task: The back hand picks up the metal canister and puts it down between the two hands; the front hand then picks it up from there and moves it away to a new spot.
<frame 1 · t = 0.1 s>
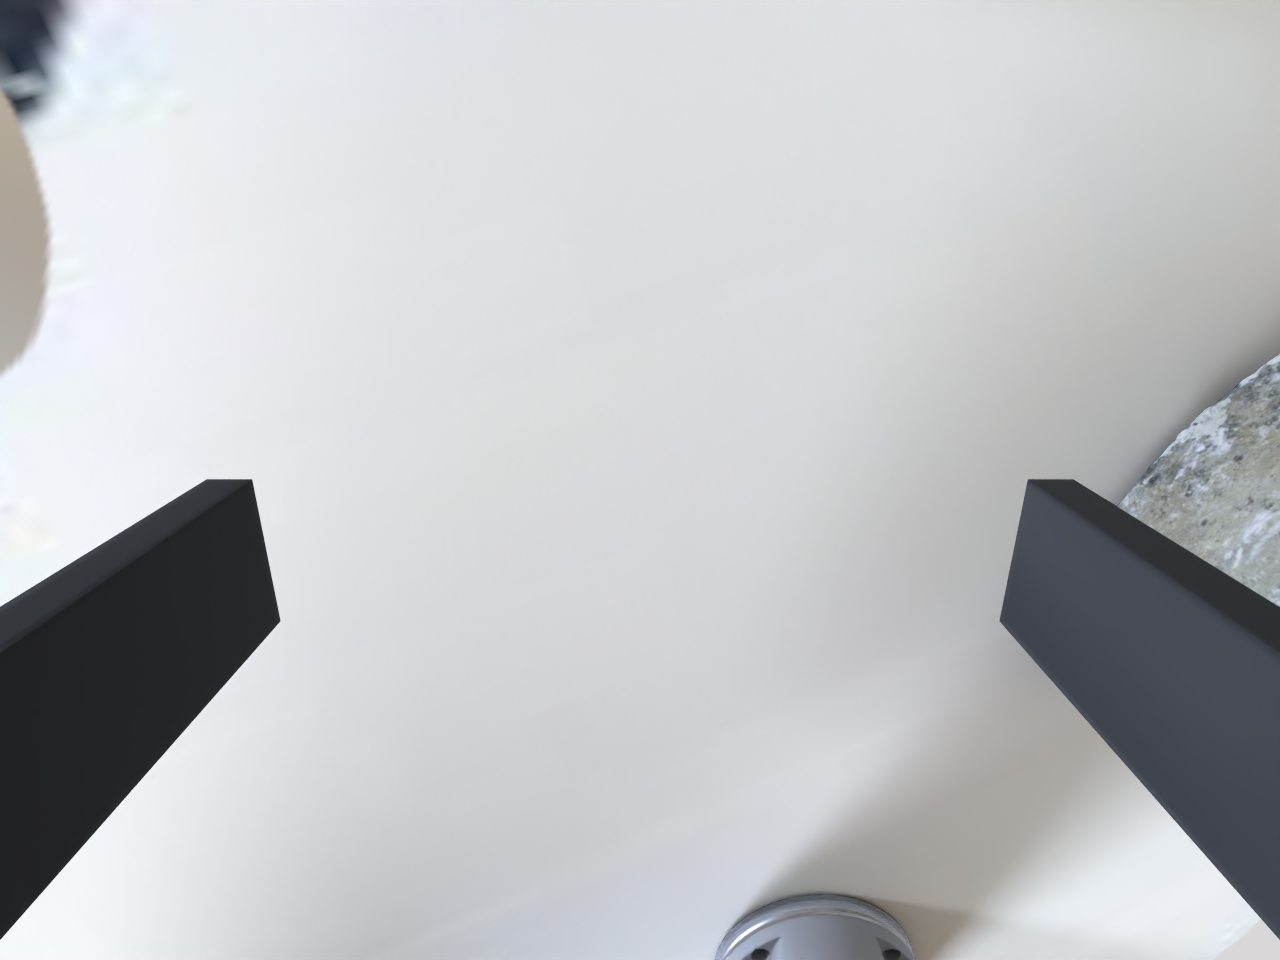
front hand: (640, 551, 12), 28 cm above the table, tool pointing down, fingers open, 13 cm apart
concrete block: (1191, 496, 42), on the table
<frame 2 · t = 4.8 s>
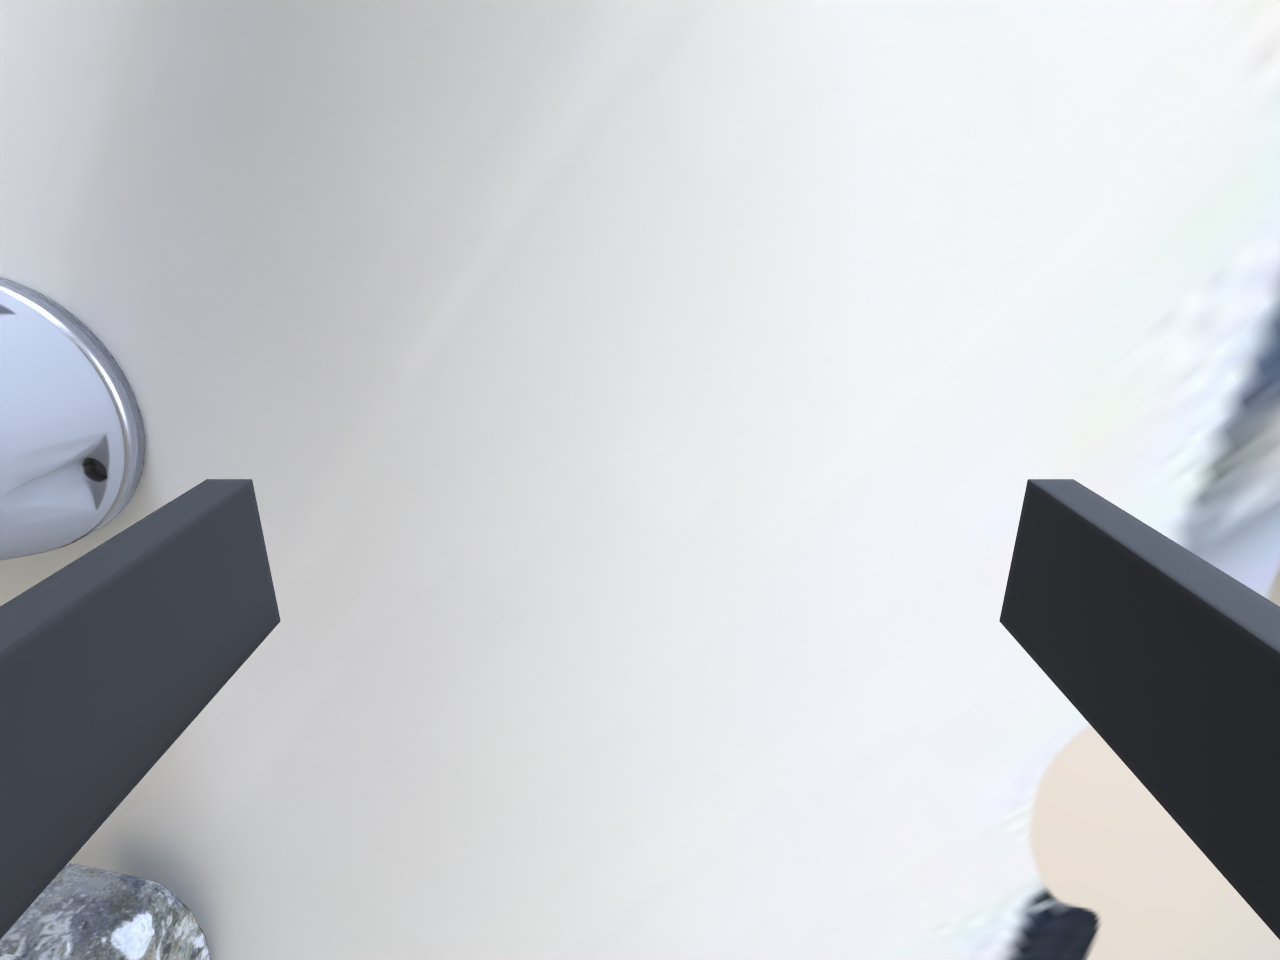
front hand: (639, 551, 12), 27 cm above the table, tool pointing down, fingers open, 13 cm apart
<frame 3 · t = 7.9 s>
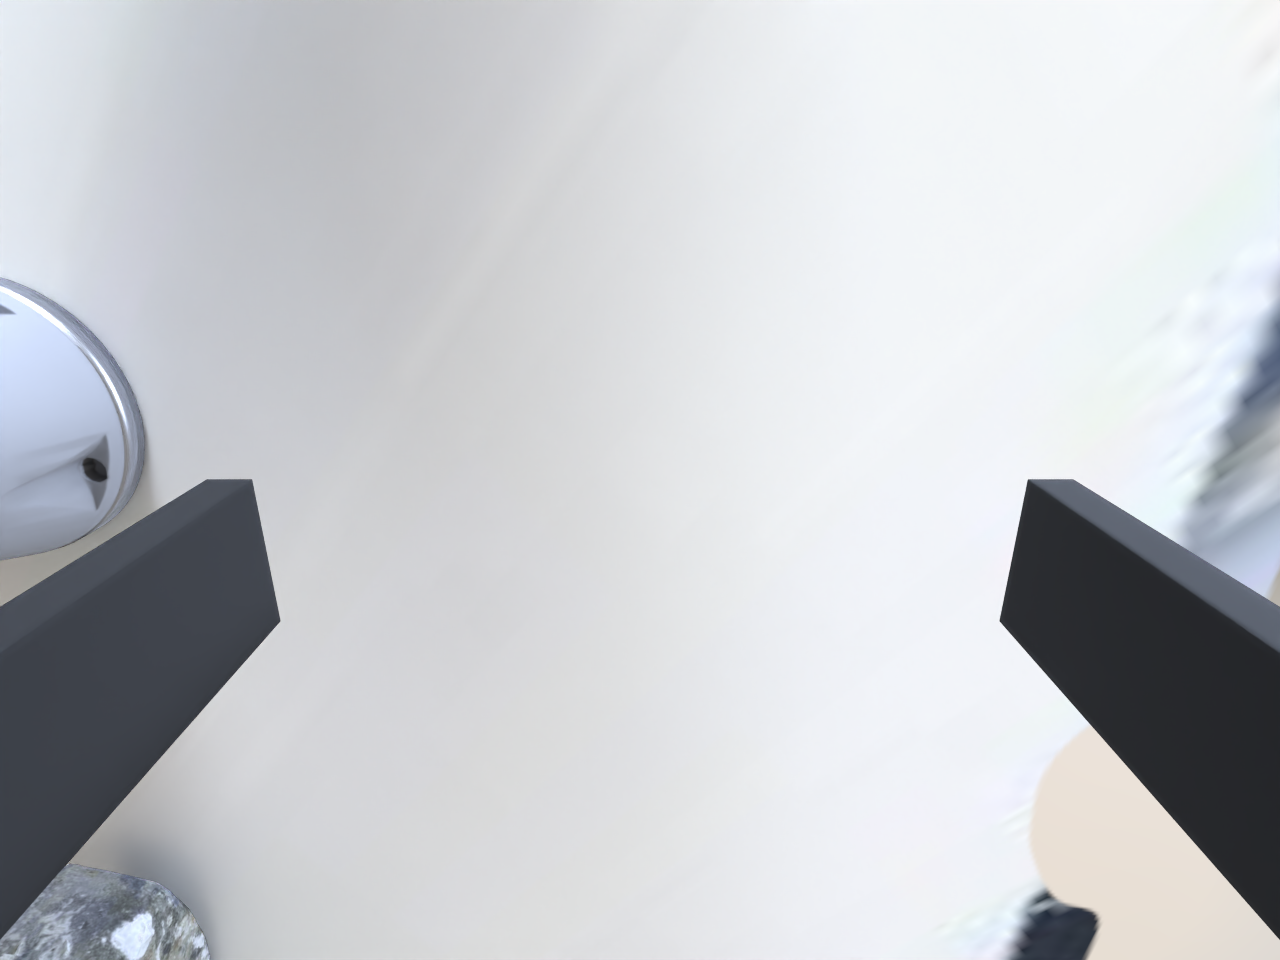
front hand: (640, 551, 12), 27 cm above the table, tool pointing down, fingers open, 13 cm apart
when the back hand's fingers open (5 cm above the table, at t = 11.3 s): canister drops 1 cm, on the table.
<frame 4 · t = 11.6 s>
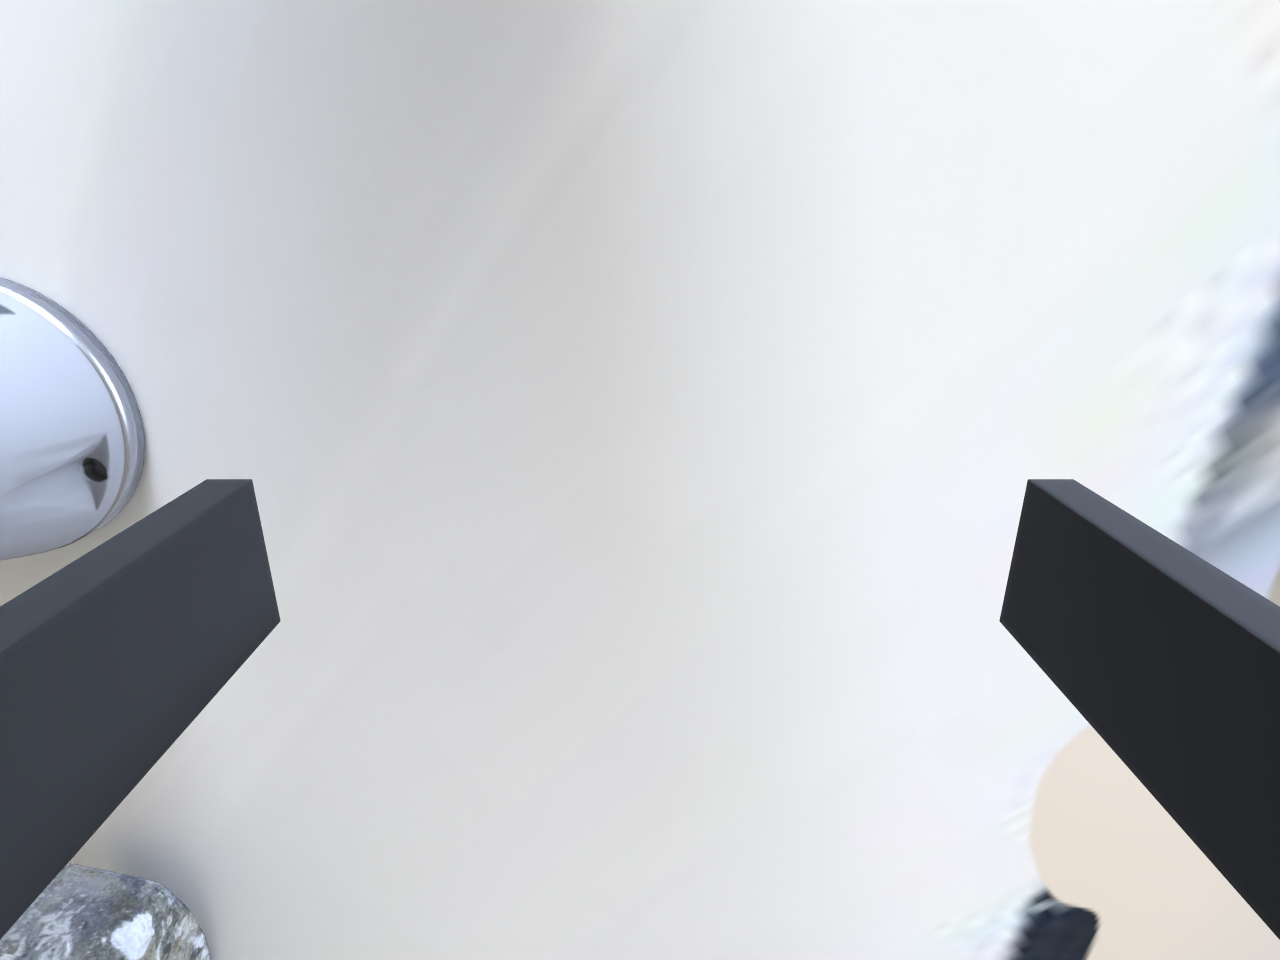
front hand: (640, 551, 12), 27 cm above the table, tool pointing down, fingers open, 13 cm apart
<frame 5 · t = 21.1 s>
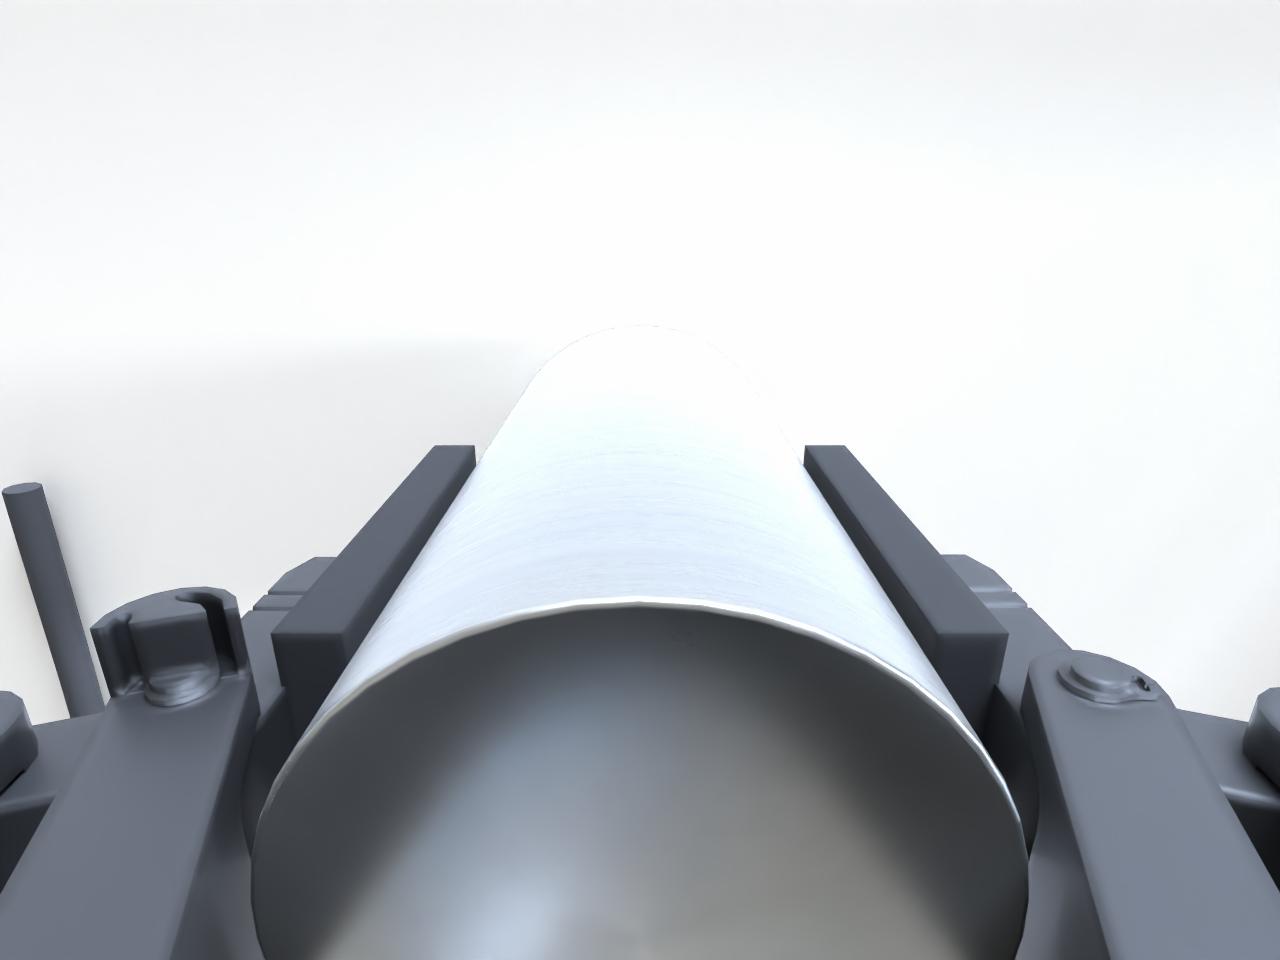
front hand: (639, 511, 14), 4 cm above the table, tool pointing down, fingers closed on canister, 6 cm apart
canister: (639, 456, 17), on the table, touching front hand
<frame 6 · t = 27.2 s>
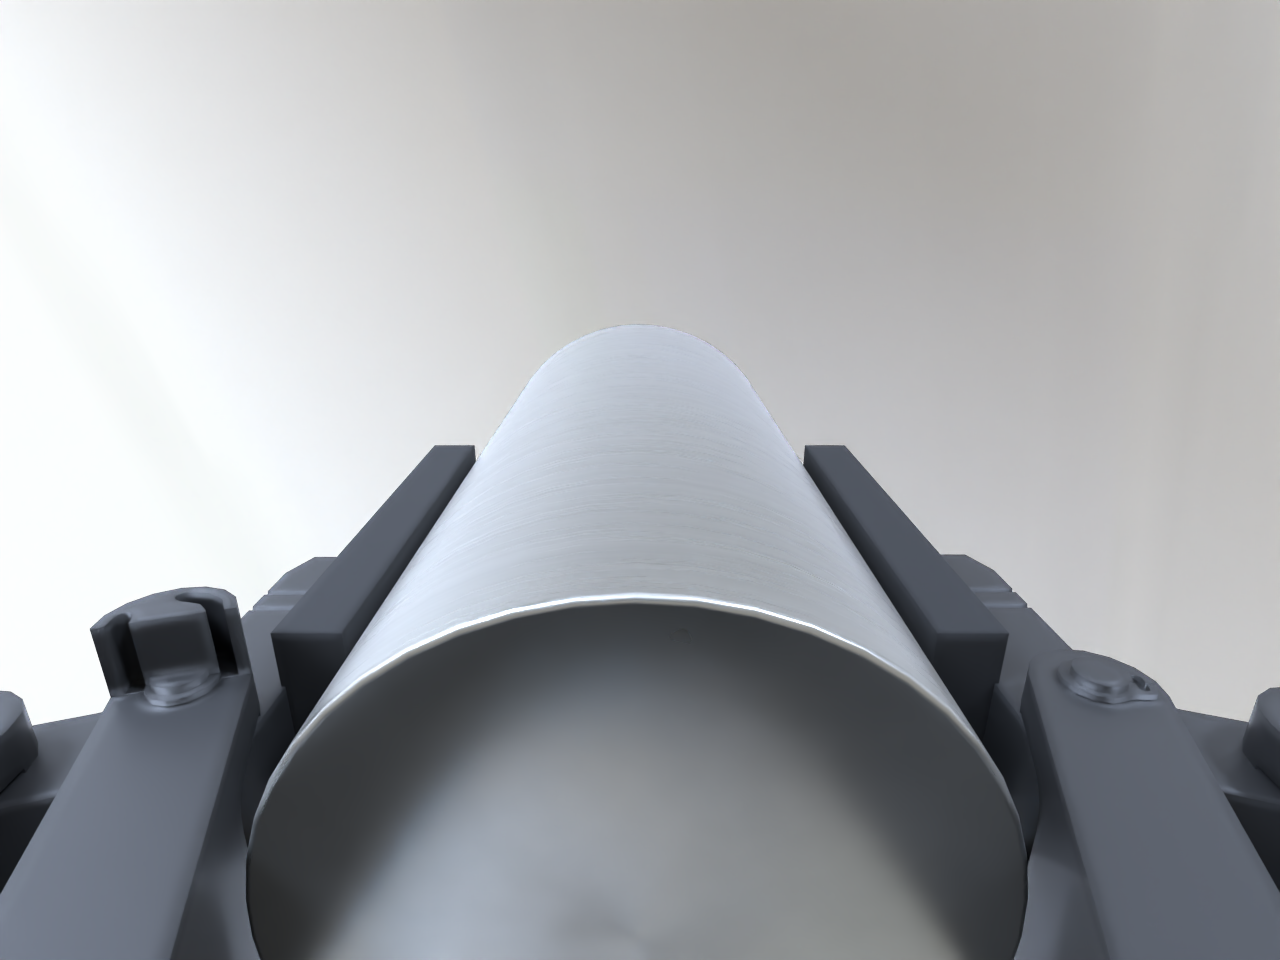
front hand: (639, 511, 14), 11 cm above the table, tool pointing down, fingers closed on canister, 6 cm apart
canister: (638, 455, 17), point 8 cm above the table, touching front hand
when the front hand's fingers open (5 cm above the table, at t = 33.5 s): canister drops 1 cm, on the table.
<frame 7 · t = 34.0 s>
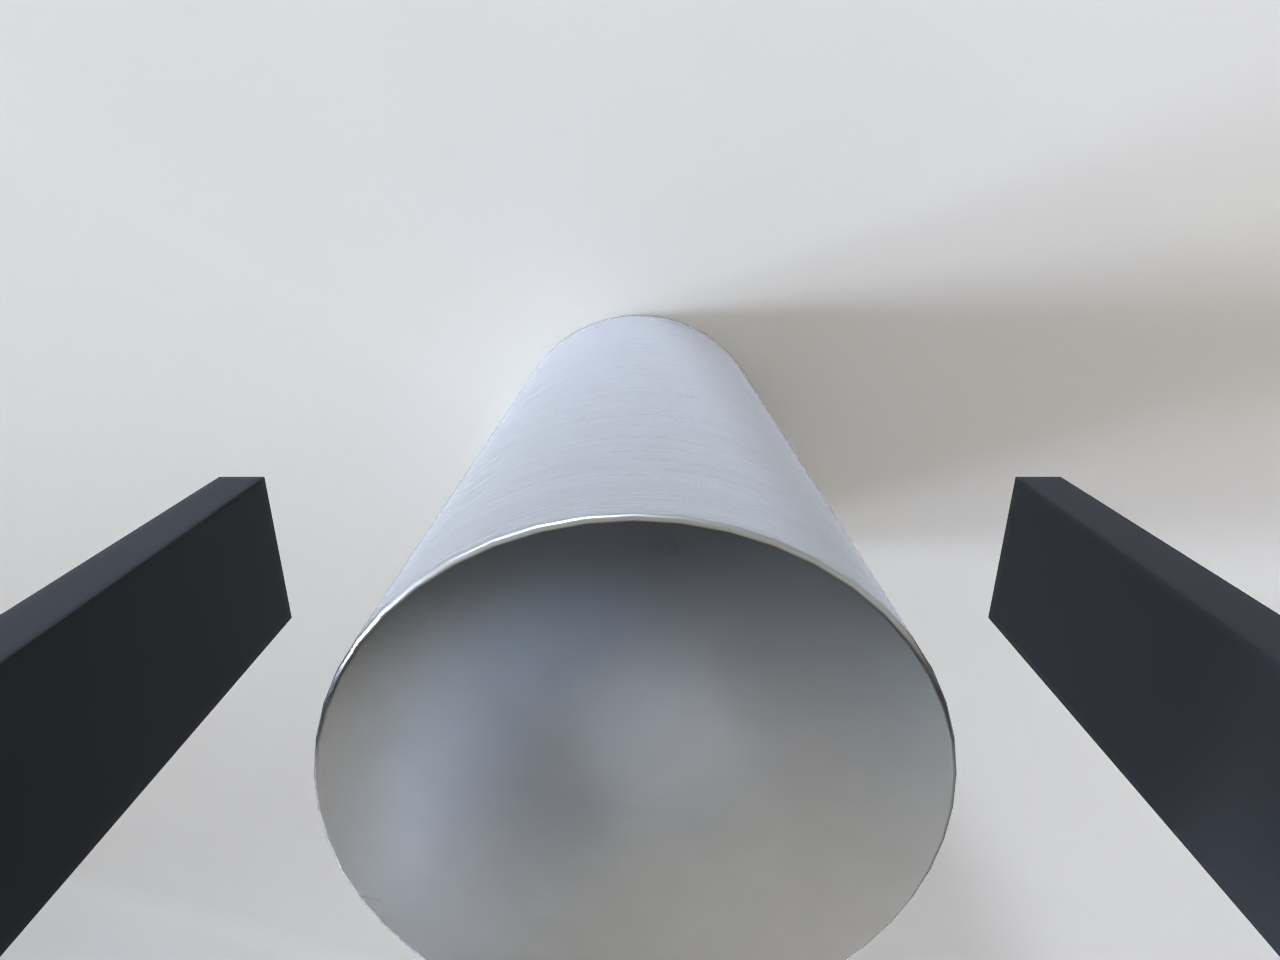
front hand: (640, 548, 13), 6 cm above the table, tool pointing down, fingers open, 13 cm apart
canister: (638, 438, 19), on the table
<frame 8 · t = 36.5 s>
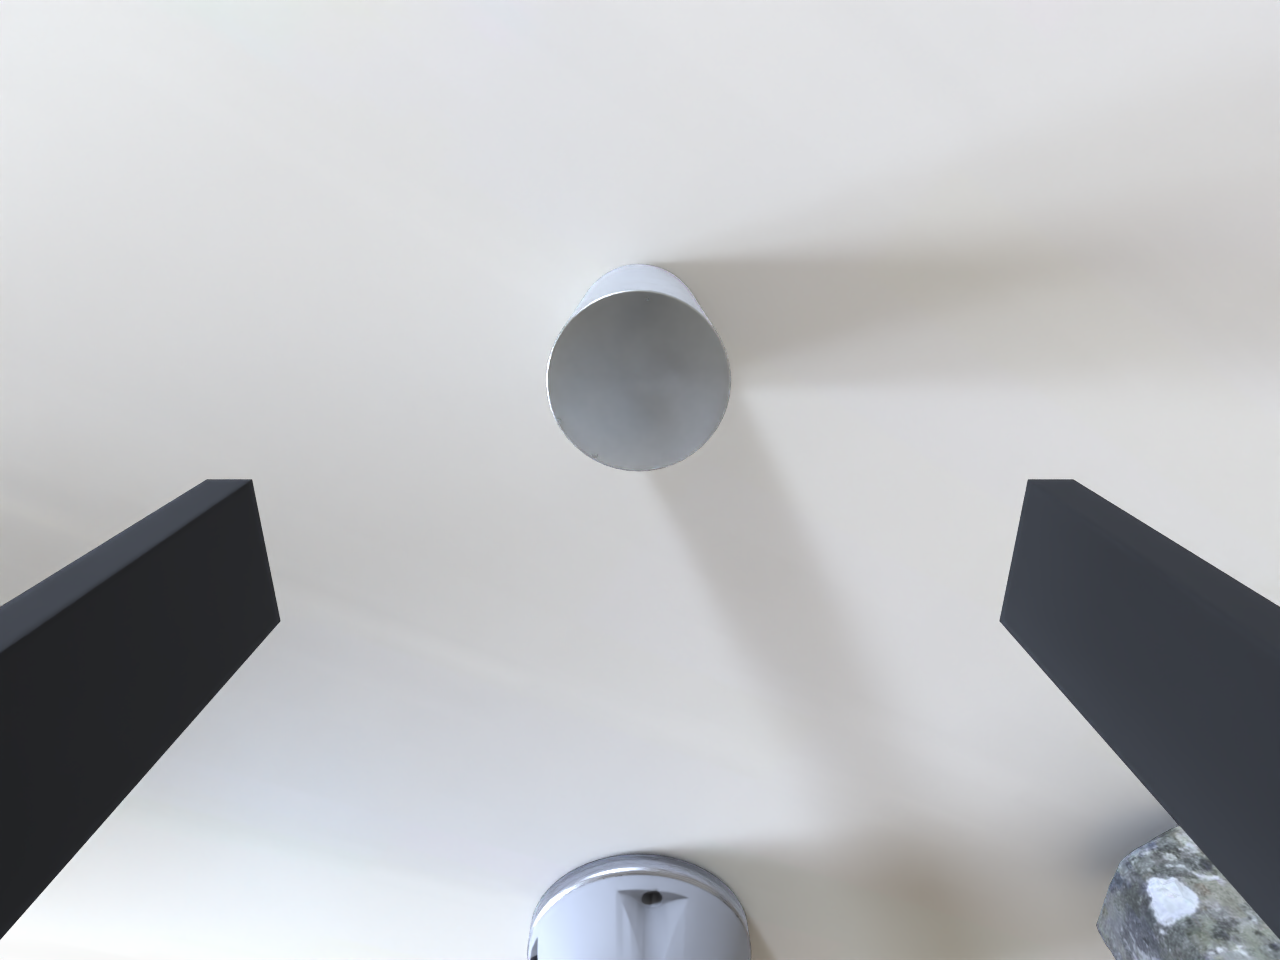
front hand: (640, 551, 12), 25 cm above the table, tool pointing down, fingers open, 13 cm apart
canister: (639, 329, 36), on the table
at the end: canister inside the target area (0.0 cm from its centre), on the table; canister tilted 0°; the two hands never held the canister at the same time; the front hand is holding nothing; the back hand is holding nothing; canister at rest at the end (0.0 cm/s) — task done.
